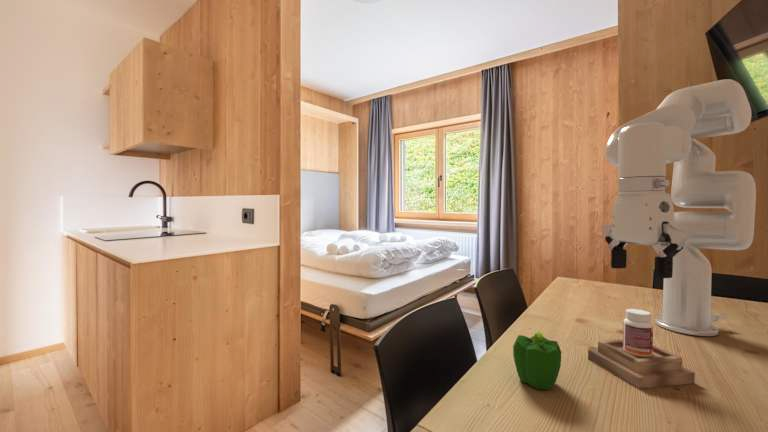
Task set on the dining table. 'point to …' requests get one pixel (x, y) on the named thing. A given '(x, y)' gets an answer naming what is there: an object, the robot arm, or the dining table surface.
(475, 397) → the dining table surface
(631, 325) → the pill bottle
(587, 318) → the dining table surface
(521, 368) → the bell pepper
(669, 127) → the robot arm
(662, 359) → the plinth
